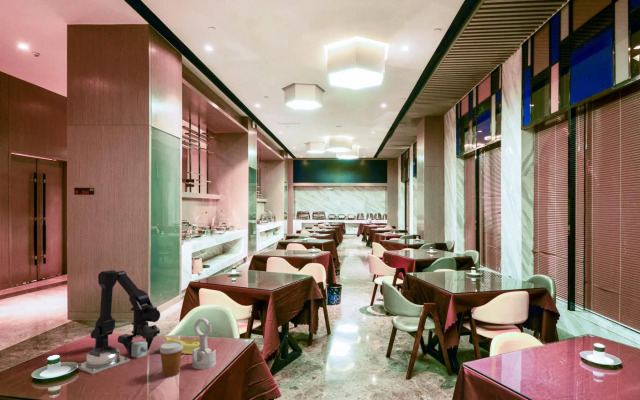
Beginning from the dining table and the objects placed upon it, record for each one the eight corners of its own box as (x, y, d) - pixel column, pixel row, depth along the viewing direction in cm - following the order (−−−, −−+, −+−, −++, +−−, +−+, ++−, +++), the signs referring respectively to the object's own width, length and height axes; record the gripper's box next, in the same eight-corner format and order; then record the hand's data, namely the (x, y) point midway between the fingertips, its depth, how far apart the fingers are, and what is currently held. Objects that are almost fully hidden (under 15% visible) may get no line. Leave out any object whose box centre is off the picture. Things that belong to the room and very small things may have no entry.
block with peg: (131, 356, 177) (131, 343, 177) (140, 352, 181) (141, 340, 181) (139, 358, 173) (140, 346, 173) (149, 355, 177) (149, 342, 178)
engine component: (204, 370, 159) (220, 362, 168) (205, 322, 160) (220, 317, 169) (186, 366, 164) (202, 358, 173) (186, 320, 165) (202, 314, 174)
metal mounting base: (75, 367, 163) (75, 352, 163) (113, 355, 178) (113, 341, 178) (91, 374, 156) (92, 358, 156) (130, 360, 170) (130, 346, 171)
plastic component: (208, 341, 191) (203, 338, 182) (205, 356, 187) (200, 354, 178) (170, 338, 191) (163, 335, 182) (166, 354, 187) (159, 351, 178)
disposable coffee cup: (168, 380, 149) (168, 350, 150) (154, 375, 154) (154, 346, 155) (187, 372, 157) (188, 343, 158) (173, 367, 162) (174, 340, 163)
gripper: (131, 327, 166) (130, 362, 165) (167, 317, 182) (166, 349, 181) (117, 323, 172) (116, 357, 171) (153, 315, 188) (152, 345, 187)
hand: (139, 352), depth 178 cm, fingers open, 9 cm apart
